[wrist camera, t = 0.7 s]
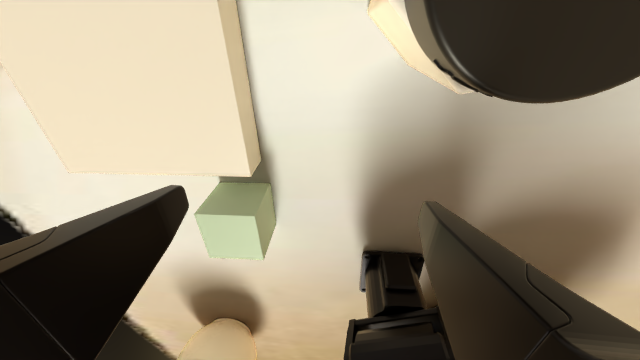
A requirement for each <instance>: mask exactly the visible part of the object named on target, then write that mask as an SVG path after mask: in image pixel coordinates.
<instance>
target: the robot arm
mask: <svg viewBox="0 0 640 360" xmlns="http://www.w3.org/2000/svg"><path fill="white" fill-rule="evenodd" d="M188 208H189V203H188V200H187V196H186V193H185V190H184V188H183V187H182V186H179V185H170V186H167V187H164V188H161V189H159V190H156V191H153V192H150V193H148V194H145V195H142V196H139V197H136V198H134V199H131V200H128V201H125V202H123V203H120V204H117V205H114V206H111V207H109V208H106V209H103V210H100V211H98V212H95V213H92V214H89V215H87V216H84V217H81V218H78V219H75V220H73V221H70V222H67V223H64V224H62V225H59V226H58V227H53V228H50V229H48V230H45V231H42V232H39V233H36V234H33V235H31V236H28V237H25V238H22V239H19V240H16V241H13V242H11V243H8V244H4V245H2V246H0V360H95V359H96V357H97V356H98V354H99V353H100V351H101V350H102V348H103V347H104V345H105V344H106V342H107V341H108V339H109V337H110V336H111V334H112V333H113V331H114V330H115V328H116V327H117V325H118V323H119V322H120V321H121V319H122V317H123V316H124V314H125V313H126V311H127V310H128V308H129V307H130V305H131V304H132V302H133V301H134V299H135V297H136V296H137V294H138V293H139V291H140V290H141V288H142V287H143V285H144V284H145V282H146V281H147V279H148V277H149V276H150V274H151V273H152V271H153V270H154V268H155V267H156V265H157V264H158V262H159V261H160V259H161V257H162V256H163V254H164V253H165V251H166V250H167V248H168V247H169V245H170V243H171V242H172V240H173V238H174V236H175V234H176V232H177V230H178V228H179V226H180V224H181V222H182V220H183V218H184V216H185V214H186V213H187V211H188ZM418 228H419V233H420V239H421V244H422V249H423V255H424V256H423V255H422V254H415V253H393V252H371V251H366V252H364V253H363V254H362V264H361V276H360V291H361V292H366V298H367V310H368V318H365V319H359V320H355V319H352V320H349V327H348V330H347V338H346V345H345V353H344V360H640V332H639V331H638V330H636V329H634V328H633V327H631V326H629V325H628V324H626V323H624V322H623V321H621V320H619V319H618V318H616V317H614V316H613V315H611V314H609V313H608V312H606V311H604V310H602V309H601V308H599V307H597V306H596V305H594V304H592V303H591V302H589V301H587V300H586V299H584V298H582V297H581V296H579V295H577V294H576V293H574V292H573V291H571V290H569V289H568V288H566V287H564V286H563V285H561V284H559V283H558V282H556V281H555V280H553V279H552V278H550V277H549V276H547V275H546V274H544V273H542V272H541V271H539V270H538V269H536V268H535V267H533V266H532V265H530V264H529V263H527V264H526V261H524V260H523V259H521V258H520V257H518V256H517V255H515V254H514V253H512V252H511V251H509V250H508V249H506V248H505V247H503V246H502V245H500V244H499V243H497V242H496V241H494V240H493V239H491V238H490V237H488V236H487V235H485V234H484V233H482V232H481V231H479V230H478V229H476V228H475V227H473V226H472V225H470V224H469V223H467V222H466V221H464V220H463V219H461V218H460V217H458V216H457V215H455V214H454V213H452V212H451V211H449V210H448V209H446V208H445V207H443V206H442V205H440V204H439V203H437V202H433V201H425V202H423V204H422V207H421V211H420V215H419V219H418ZM418 258H419V259H418ZM424 260H425V264H426V268H427V271H428V274H429V277H430V280H431V284H432V287H433V290H434V293H435V296H436V299H437V303H438V306H436V308H430V309H427V306H426V303H425V299H424V296H423V293H422V289H421V286H420V283H419V278H420V275H421V271H422V267H423V264H424Z"/></svg>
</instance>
